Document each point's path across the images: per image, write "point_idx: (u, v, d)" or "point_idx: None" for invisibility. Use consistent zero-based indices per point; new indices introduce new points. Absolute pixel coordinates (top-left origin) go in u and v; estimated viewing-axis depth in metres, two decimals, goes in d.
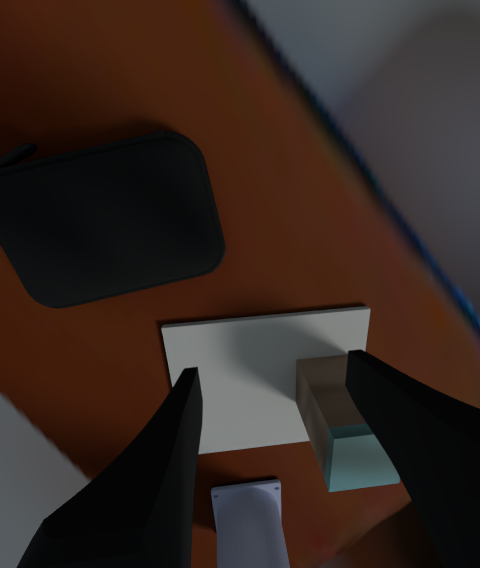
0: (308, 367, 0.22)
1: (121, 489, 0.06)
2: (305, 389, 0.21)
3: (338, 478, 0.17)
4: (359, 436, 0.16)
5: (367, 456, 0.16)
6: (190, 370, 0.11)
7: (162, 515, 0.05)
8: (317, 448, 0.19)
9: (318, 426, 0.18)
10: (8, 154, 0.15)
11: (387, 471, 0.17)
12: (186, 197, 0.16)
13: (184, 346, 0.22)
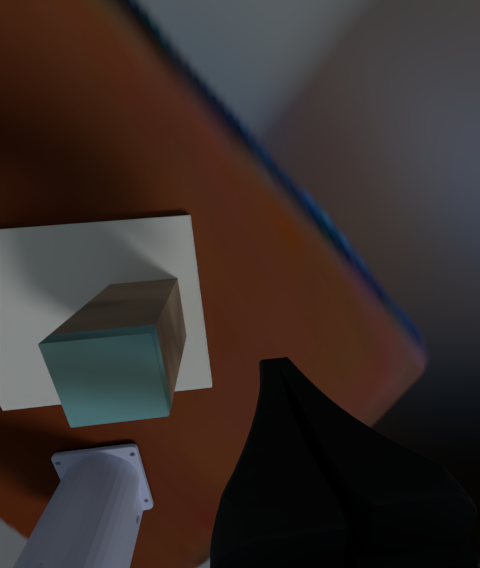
0: (113, 289, 0.18)
1: (278, 468, 0.06)
2: None
3: (74, 406, 0.13)
4: (76, 341, 0.11)
5: (103, 373, 0.12)
6: (269, 362, 0.11)
7: None
8: None
9: None
10: None
11: (144, 398, 0.13)
12: None
13: None
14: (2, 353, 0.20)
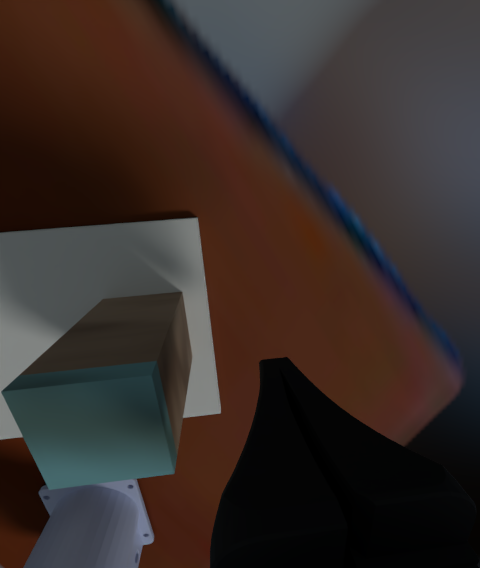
0: (106, 305, 0.15)
1: (278, 468, 0.06)
2: None
3: (53, 465, 0.10)
4: (52, 387, 0.09)
5: (89, 425, 0.09)
6: (269, 362, 0.11)
7: None
8: None
9: None
10: None
11: (142, 453, 0.10)
12: None
13: None
14: None
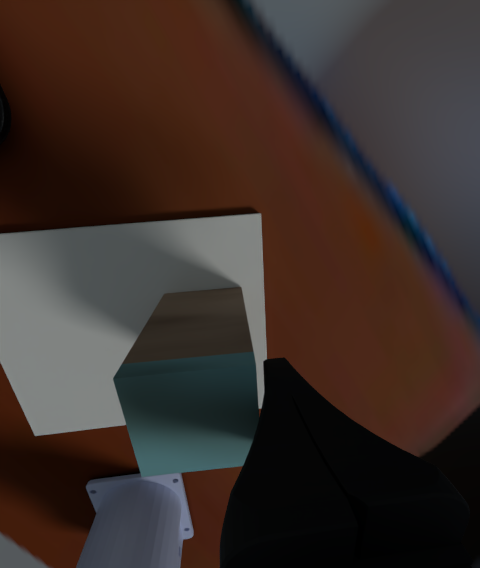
0: (171, 300, 0.15)
1: (286, 467, 0.06)
2: None
3: (149, 452, 0.10)
4: (161, 374, 0.09)
5: (189, 414, 0.09)
6: (273, 361, 0.11)
7: None
8: None
9: None
10: None
11: (235, 442, 0.10)
12: None
13: None
14: (37, 372, 0.17)
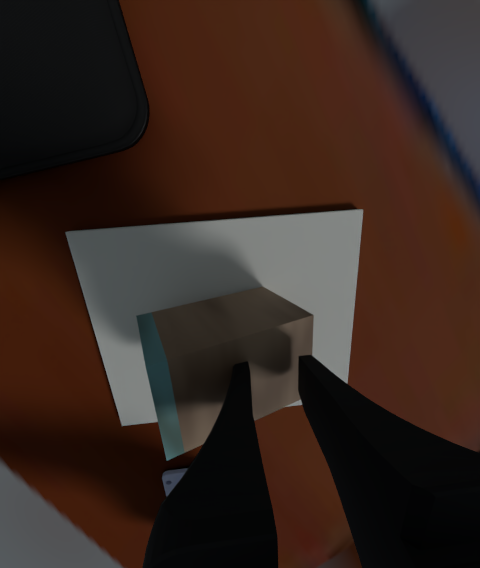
0: (251, 293, 0.16)
1: (225, 476, 0.06)
2: None
3: None
4: (139, 329, 0.12)
5: None
6: (242, 365, 0.11)
7: None
8: None
9: None
10: None
11: None
12: None
13: (102, 262, 0.15)
14: (133, 363, 0.18)
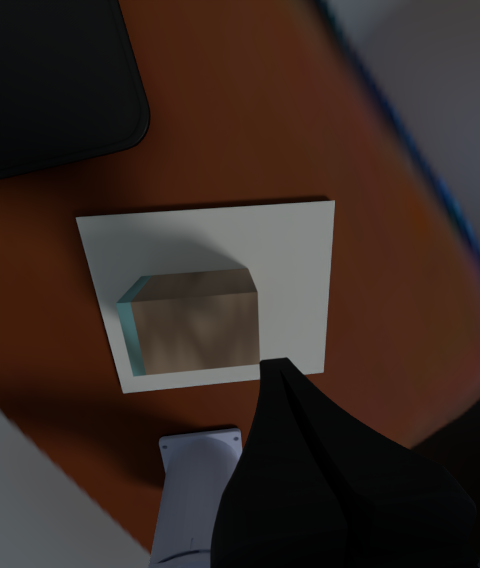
0: (232, 272, 0.18)
1: (278, 468, 0.06)
2: None
3: None
4: (134, 284, 0.17)
5: None
6: (269, 362, 0.11)
7: None
8: None
9: None
10: None
11: None
12: (81, 14, 0.12)
13: (107, 245, 0.18)
14: None
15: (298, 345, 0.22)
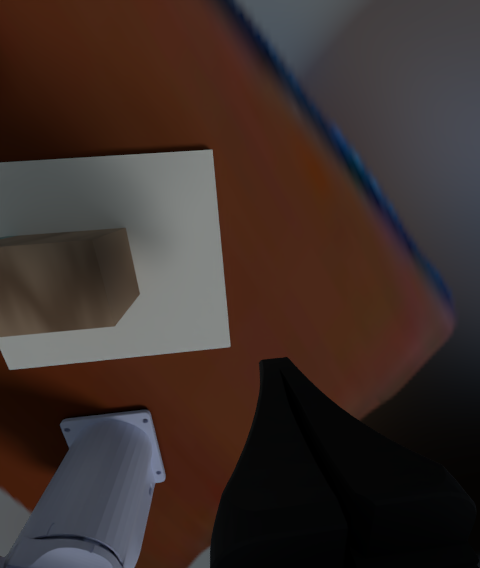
0: (103, 230, 0.17)
1: (278, 468, 0.06)
2: None
3: None
4: None
5: None
6: (269, 362, 0.11)
7: None
8: None
9: None
10: None
11: None
12: None
13: None
14: None
15: (197, 316, 0.20)
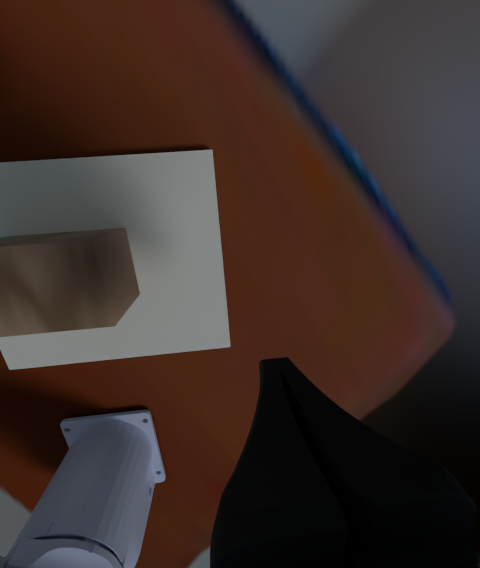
0: (103, 230, 0.17)
1: (278, 468, 0.06)
2: None
3: None
4: None
5: None
6: (269, 362, 0.11)
7: None
8: None
9: None
10: None
11: None
12: None
13: None
14: None
15: (197, 316, 0.20)
